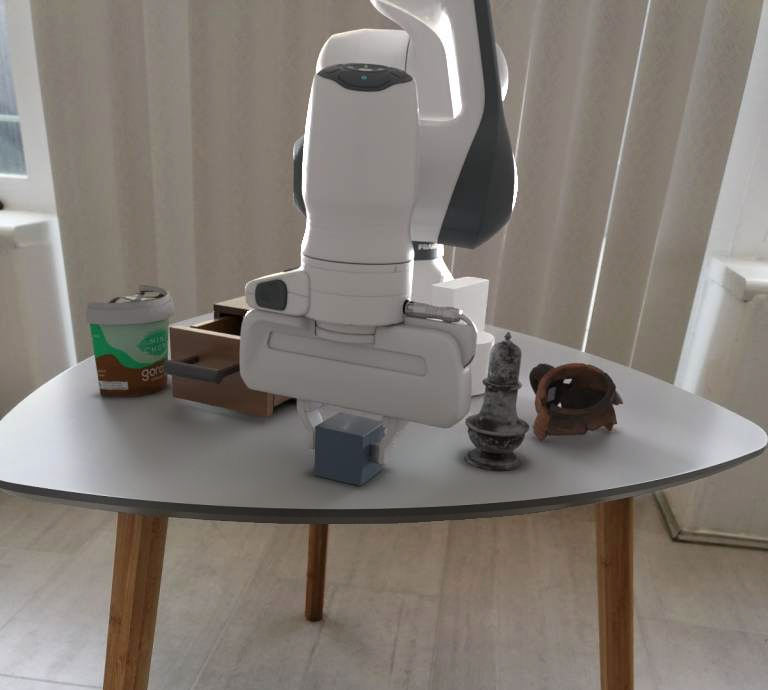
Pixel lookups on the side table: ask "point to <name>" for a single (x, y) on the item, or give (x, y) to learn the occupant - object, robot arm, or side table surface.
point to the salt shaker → (498, 412)
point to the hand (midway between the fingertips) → (349, 455)
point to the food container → (131, 341)
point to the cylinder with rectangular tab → (472, 303)
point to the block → (346, 448)
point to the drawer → (214, 367)
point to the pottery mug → (572, 399)
